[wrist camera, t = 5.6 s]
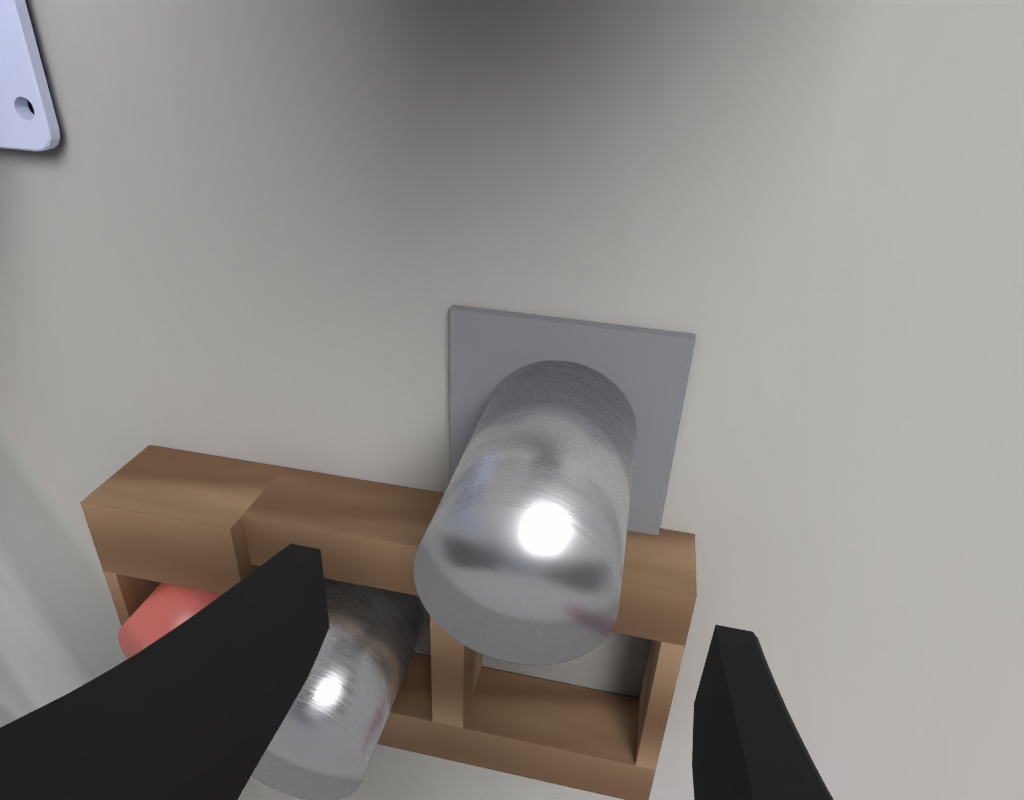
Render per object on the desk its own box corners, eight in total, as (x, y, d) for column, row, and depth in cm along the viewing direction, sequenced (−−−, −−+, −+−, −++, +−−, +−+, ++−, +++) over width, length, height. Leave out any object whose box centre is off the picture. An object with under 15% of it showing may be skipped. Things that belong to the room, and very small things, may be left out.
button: (172, 541, 23) (107, 609, 20) (257, 557, 22) (202, 628, 20) (189, 607, 24) (131, 678, 22) (269, 623, 24) (220, 698, 21)
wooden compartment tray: (149, 445, 22) (80, 502, 20) (694, 534, 20) (696, 614, 17) (200, 642, 27) (149, 709, 24) (650, 736, 24) (646, 823, 22)
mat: (452, 304, 18) (449, 309, 17) (695, 334, 17) (695, 339, 17) (453, 494, 21) (450, 500, 20) (658, 528, 20) (658, 535, 20)
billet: (487, 350, 18) (410, 490, 13) (646, 371, 17) (632, 526, 12) (484, 478, 20) (415, 643, 15) (626, 501, 19) (607, 682, 14)
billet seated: (313, 533, 23) (206, 686, 18) (431, 554, 22) (357, 719, 17) (324, 620, 25) (232, 781, 20) (433, 642, 24) (367, 814, 19)
